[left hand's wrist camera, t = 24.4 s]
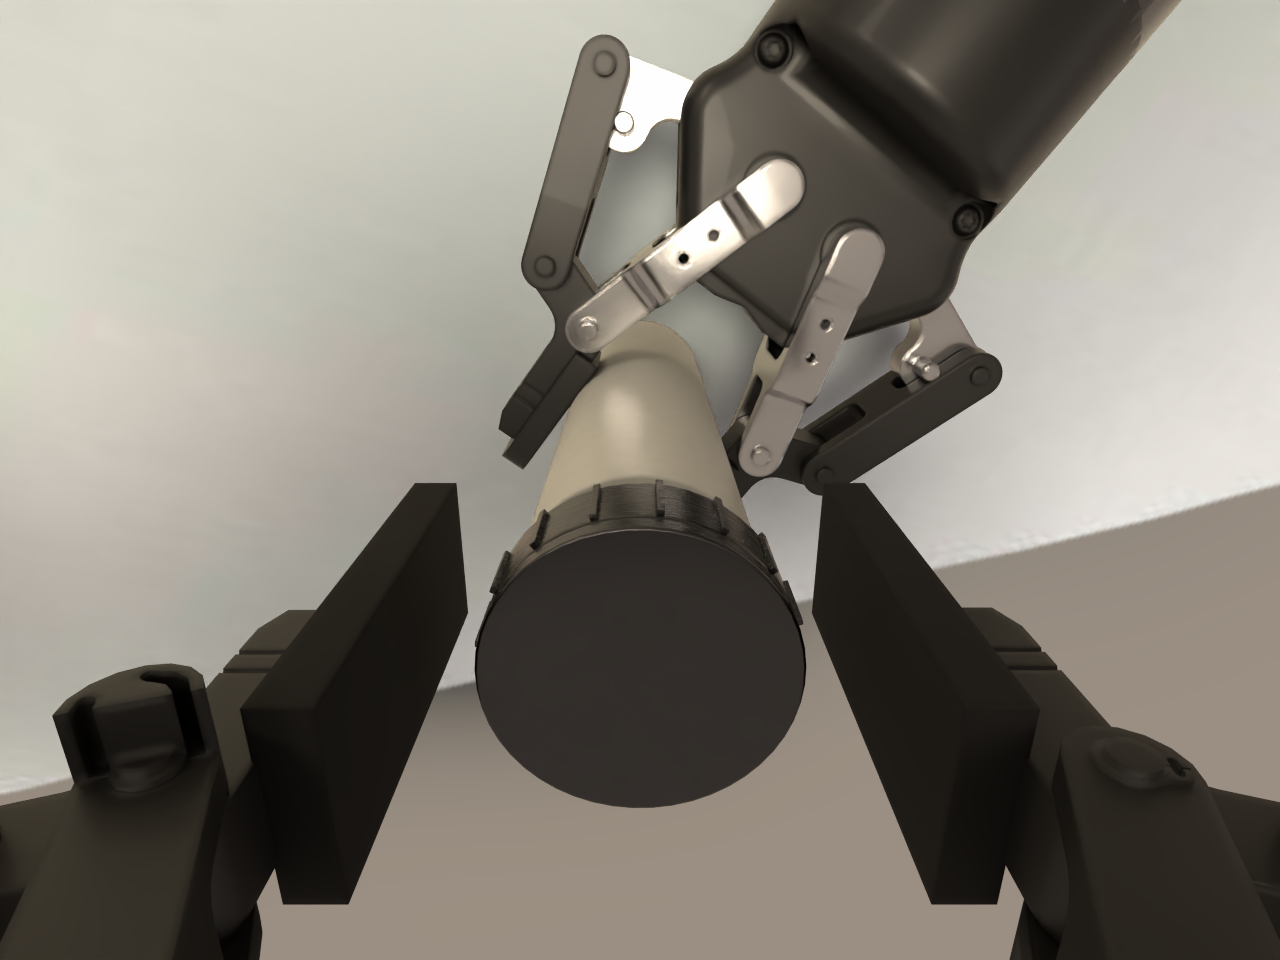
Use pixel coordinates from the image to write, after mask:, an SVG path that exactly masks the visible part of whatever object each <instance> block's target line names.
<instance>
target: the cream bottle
mask: <svg viewBox="0 0 1280 960" xmlns="http://www.w3.org/2000/svg"><path fill="white" fill-rule="evenodd" d="M600 352H601V356H600V360H599V364H598V369H597V370H596V371H595V373H594V374H593V375H592V377H591V378H590V379H589V381H588V382H587V384H586V385H585V386H584V388H583V389H582V390H581V391H580V392H579V394H578V395H577V397H576V398H575V400H574V401H573V403H572V404H571V406H570V409H569V412H568V415H567V418H566V421H565V424H564V427H563V430H562V433H561V436H560V439H559V442H558V445H557V448H556V451H555V454H554V457H553V460H552V463H551V466H550V469H549V472H548V475H547V478H546V481H545V484H544V487H543V491H542V494H541V497H540V500H539V503H538V506H537V509H536V512H535V515H534V518H533V521H532V524H531V526H532V525H533V524H534V523H535V522H536V521H537V518H538V515H539V512H541V511H542V510H543V509H545V510H546V511H547V512H549V511H551V510H552V509H553V508H555V507H557V506H558V505H560V504H562V503H564V502H566V501H567V500H569V499H571V498H574V497H576V496H579V495H581V494H584V493H586V492H589V491H592V490H593V485H595V484H600V485H601V488H604V487H607V486H614V485H621V484H635V483H650V484H655V481H656V479H658V480H663V485H668V486H673V487H677V488H681V489H685V490H689V491H692V492H694V493H697V494H700V495H702V496H705V497H708V498H709V499H711V500H713V499H714V498H715V496H717V497H718V498H720V499H722V503H723V506H725V507H726V508H727V509H729V510H730V511H732V512H733V513H734V514H736V515H737V516H739V517H740V518H741V519H742V520H743V521H744V522H745V523H746V524H747V525H749V526H750V524H749V521H748V518H747V515H746V512H745V509H744V506H743V503H742V500H741V497H740V494H739V491H738V488H737V485H736V482H735V479H734V476H733V473H732V470H731V467H730V464H729V461H728V457H727V454H726V451H725V448H724V445H723V442H722V439H721V436H720V433H719V430H718V427H717V424H716V421H715V418H714V415H713V412H712V409H711V406H710V403H709V400H708V397H707V394H706V391H705V388H704V385H703V382H702V379H701V376H700V373H699V370H698V367H697V364H696V361H695V358H694V356H693V353H692V351H691V349H690V348H689V346H688V345H687V343H686V342H685V341H684V340H683V339H682V338H681V337H680V336H679V335H678V334H677V333H675V332H674V331H673V330H671V329H669V328H667V327H666V326H664V325H661V324H658V323H654V322H650V321H638V322H637V323H636V324H634V325H633V326H632V327H630V328H629V329H628V330H626V331H625V332H624V333H622V334H621V335H620V336H619V337H617V338H616V339H615V340H613V341H612V342H611V343H609V344H608V345H607V346H605V347H604V348H603V349H601V351H600Z"/></svg>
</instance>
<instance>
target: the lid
mask: <svg viewBox="0 0 1280 960" xmlns="http://www.w3.org/2000/svg"><path fill="white" fill-rule="evenodd" d="M490 592H491V593H493V594H494V595H493V597H492V600H491V601H490V602H489V605H488V608H487V610H486V613H485V616H484V619H483V621H482V624H481V627H480V629H479V632H478V635H477V638H476V640H475V647H476V654H475V678H476V687H477V692H478V695H479V699H480V703H481V706H482V709H483V711H484V714H485V716H486V718H487V721H488V723H489V725H490V727H491V728H492V730H493V731H494V733H495V735H496V736H497V738H498V740H499V741H500V742H501V743H502V745H503V746H504V747H505V748H506V750H507V751H508V752H509V753H510V755H512V756H513V757H514V758H515V759H516V760H517V761H518V762H519V763H520V764H521V765H522V766H523V767H524V768H525V769H527V770H528V771H530V772H531V773H532V774H534V775H535V776H536V777H538V778H539V779H541V780H542V781H544V782H546V783H548V784H549V785H551V786H553V787H554V788H556V789H559V790H561V791H563V792H565V793H568V794H570V795H572V796H575V797H578V798H581V799H585V800H588V801H591V802H595V803H600V804H605V805H610V806H618V807H628V808H654V807H663V806H672V805H676V804H681V803H685V802H690V801H694V800H697V799H700V798H703V797H705V796H708V795H711V794H713V793H716V792H718V791H720V790H722V789H724V788H726V787H728V786H730V785H732V784H733V783H735V782H737V781H738V780H740V779H742V778H743V777H745V776H746V775H748V774H749V773H750V772H751V771H753V770H754V769H755V768H756V767H758V766H759V765H760V764H761V763H762V762H763V761H764V760H765V759H766V758H767V757H768V756H769V755H770V754H771V753H772V752H773V751H774V750H775V748H776V747H777V746H778V745H779V743H780V742H781V741H782V739H783V738H784V737H785V735H786V733H787V732H788V730H789V728H790V726H791V724H792V723H793V721H794V719H795V716H796V713H797V711H798V708H799V706H800V703H801V699H802V695H803V691H804V686H805V676H806V657H805V647H804V642H803V638H802V634H801V630H800V627H799V625H802V624H803V620H802V617H801V614H800V612H799V609H798V607H797V604H796V601H795V599H794V596H793V593H792V591H791V588H790V586H789V583H788V581H782V578H781V575H780V573H779V570H778V568H777V566H776V563H775V561H774V558H773V555H772V552H771V550H770V547H769V544H768V542H767V539H766V536H765V535H764V534H763V533H762V532H761V533H760V534H759V535H757V534H756V533H755V531H754V530H753V529H752V528H751V527H750V526H749V525H747V524H746V523H745V522H744V521H743V520H742V519H741V518H740V517H739V516H737V515H736V514H734V513H733V512H732V511H730V510H729V509H727V508H726V507H725V506H723V503H722V499H720V498H718V497H717V496H715V498H714V499H713V500H711V499H709V498H708V497H705V496H702V495H700V494H697V493H694V492H692V491H689V490H685V489H681V488H677V487H673V486H668V485H663V480H658V479H656V481H655V484H650V483H635V484H621V485H614V486H607V487H604V488H601V485H600V484H595V485H593V490H592V491H589V492H586V493H584V494H581V495H579V496H576V497H574V498H571V499H569V500H567V501H566V502H564V503H562V504H560V505H558V506H557V507H555V508H553V509H552V510H551V511H549V512H547V511H546V510H545V509H543V510H542V511H541V512H539V515H538V518H537V521H536V522H535V523H534V524H533V525H532V526H531V527H530V528H529V529H528V530H527V531H526V532H525V533H524V535H523V536H522V537H521V539H520V540H519V541H518V543H517V544H516V545H515V547H514V548H513V550H512V552H511V553H510V552H508V551H505V553H504V555H503V557H502V560H501V562H500V565H499V568H498V570H497V573H496V576H495V578H494V581H493V583H492V586H491V589H490Z"/></svg>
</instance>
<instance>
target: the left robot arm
mask: <svg viewBox="0 0 1280 960" xmlns="http://www.w3.org/2000/svg"><path fill="white" fill-rule="evenodd" d="M467 614H468V607H467V596H466V585H465V574H464V562H463V551H462V540H461V529H460V518H459V507H458V496H457V485H456V483H415V484H414V485H413V487H412V488H411V489H410V490H409V492H408V493H407V494H406V496H405V497H404V498H403V499H402V501H401V502H400V503H399V505H398V506H397V507H396V508H395V510H394V511H393V512H392V514H391V515H390V516H389V517H388V519H387V520H386V521H385V523H384V524H383V525H382V526H381V528H380V529H379V530H378V532H377V533H376V534H375V535H374V537H373V538H372V539H371V541H370V542H369V543H368V544H367V546H366V547H365V548H364V550H363V551H362V552H361V553H360V555H359V556H358V557H357V559H356V560H355V561H354V562H353V564H352V565H351V566H350V568H349V569H348V570H347V571H346V573H345V574H344V575H343V577H342V578H341V579H340V580H339V582H338V583H337V584H336V586H335V587H334V588H333V589H332V591H331V592H330V593H329V595H328V596H327V597H326V598H325V600H324V601H323V602H322V604H321V605H320V606H319V607H318V609H317V610H288V611H286V612H285V613H283V614H281V615H280V616H278V617H277V618H275V619H273V620H272V621H270V622H268V623H267V624H265V625H264V626H262V627H260V628H259V629H258V630H257V631H256V632H255V633H254V634H253V635H252V636H251V638H250V639H249V640H248V641H247V642H246V643H245V644H244V646H243V647H242V648H241V649H240V650H239V655H235V656H234V657H233V658H232V659H231V660H230V662H229V663H228V664H227V665H226V666H225V667H224V668H223V669H224V671H223V673H219V674H218V675H217V676H216V677H215V679H214V680H213V681H212V682H211V683H210V684H209V685H208V687H207V688H206V687H205V683H204V679H203V675H202V674H200V673H199V672H197V671H196V670H195V669H193V668H192V667H189V666H183V665H177V664H159V665H147V666H142V667H138V668H134V669H130V670H126V671H122V672H118V673H116V674H113V675H111V676H109V677H106V678H104V679H102V680H99V681H97V682H94V683H92V684H90V685H88V686H87V687H85V688H84V689H82V690H81V691H79V692H77V693H76V694H74V695H73V696H71V697H70V698H68V699H67V700H66V701H65V702H64V703H63V704H62V705H61V706H60V708H59V709H58V710H57V711H56V712H55V713H54V714H53V715H52V716H53V719H54V723H55V726H56V729H57V732H58V735H59V738H60V741H61V744H62V747H63V750H64V753H65V756H66V759H67V762H68V765H69V768H70V771H71V775H72V778H73V780H74V785H73V787H72V789H71V790H70V791H67V792H63V793H58V794H54V795H49V796H44V797H40V798H35V799H30V800H26V801H21V802H16V803H11V804H7V805H2V806H0V960H259V958H260V949H261V941H262V926H261V920H260V914H259V910H258V906H257V900H258V898H259V896H260V894H261V892H262V890H263V889H264V887H265V885H266V883H267V881H268V880H269V878H270V876H271V874H272V872H273V870H274V868H275V871H276V875H277V880H278V884H279V889H280V893H281V898H282V902H283V904H349V902H350V899H351V897H352V894H353V892H354V890H355V887H356V885H357V882H358V880H359V877H360V875H361V873H362V870H363V868H364V865H365V863H366V860H367V858H368V855H369V853H370V851H371V848H372V846H373V843H374V841H375V838H376V836H377V834H378V831H379V829H380V826H381V824H382V821H383V819H384V817H385V814H386V812H387V809H388V807H389V804H390V802H391V799H392V797H393V795H394V792H395V790H396V787H397V785H398V782H399V780H400V778H401V775H402V773H403V770H404V768H405V765H406V763H407V760H408V758H409V756H410V753H411V751H412V748H413V746H414V743H415V741H416V739H417V736H418V734H419V731H420V729H421V726H422V724H423V721H424V719H425V717H426V714H427V712H428V709H429V707H430V704H431V702H432V700H433V697H434V695H435V692H436V690H437V687H438V685H439V683H440V680H441V678H442V675H443V673H444V670H445V668H446V665H447V663H448V661H449V658H450V656H451V653H452V651H453V648H454V646H455V644H456V641H457V639H458V636H459V634H460V631H461V629H462V626H463V624H464V622H465V619H466V617H467ZM812 614H813V617H814V619H815V622H816V624H817V626H818V629H819V631H820V634H821V636H822V639H823V641H824V643H825V646H826V648H827V651H828V653H829V656H830V658H831V661H832V663H833V665H834V668H835V670H836V673H837V675H838V678H839V680H840V682H841V685H842V687H843V690H844V692H845V695H846V697H847V700H848V702H849V704H850V707H851V709H852V712H853V714H854V717H855V719H856V721H857V724H858V726H859V729H860V731H861V734H862V736H863V739H864V741H865V743H866V746H867V748H868V751H869V753H870V756H871V758H872V760H873V763H874V765H875V768H876V770H877V773H878V775H879V778H880V780H881V782H882V785H883V787H884V790H885V792H886V795H887V797H888V799H889V802H890V804H891V807H892V809H893V812H894V814H895V816H896V819H897V821H898V824H899V826H900V829H901V831H902V833H903V836H904V838H905V841H906V843H907V846H908V848H909V851H910V853H911V855H912V858H913V860H914V863H915V865H916V868H917V870H918V872H919V875H920V877H921V880H922V882H923V885H924V887H925V890H926V892H927V894H928V897H929V899H930V902H931V904H997V902H998V898H999V893H1000V889H1001V884H1002V880H1003V875H1004V871H1005V866H1007V868H1008V870H1009V872H1010V874H1011V876H1012V877H1013V879H1014V881H1015V883H1016V885H1017V887H1018V888H1019V890H1020V892H1021V894H1022V896H1023V898H1024V902H1023V906H1022V910H1021V914H1020V918H1019V923H1018V927H1017V931H1016V935H1015V939H1014V944H1013V948H1012V952H1011V956H1010V960H1280V802H1276V801H1271V800H1266V799H1261V798H1257V797H1252V796H1247V795H1242V794H1237V793H1233V792H1228V791H1223V790H1219V789H1215V788H1212V787H1208V785H1207V783H1206V781H1205V780H1204V779H1203V778H1202V776H1201V775H1200V774H1199V772H1198V771H1197V770H1196V768H1195V767H1194V766H1193V764H1191V763H1190V762H1189V761H1187V760H1186V759H1185V758H1183V757H1182V756H1181V755H1179V754H1178V753H1177V752H1175V751H1174V750H1173V749H1171V748H1170V747H1168V746H1165V745H1163V744H1161V743H1159V742H1157V741H1155V740H1153V739H1151V738H1149V737H1147V736H1145V735H1142V734H1138V733H1135V732H1131V731H1128V730H1124V729H1121V728H1117V727H1111V726H1110V725H1109V724H1108V723H1107V722H1106V720H1105V719H1104V718H1103V717H1102V716H1101V715H1100V714H1099V712H1098V711H1097V710H1096V709H1095V708H1094V707H1093V706H1092V705H1091V703H1090V702H1089V701H1088V700H1087V699H1086V698H1085V697H1084V696H1083V694H1082V693H1081V692H1080V691H1079V690H1078V689H1077V688H1076V687H1075V685H1074V684H1073V683H1072V682H1071V681H1070V680H1069V679H1068V677H1067V676H1066V675H1065V674H1064V673H1063V672H1062V671H1061V670H1057V665H1056V664H1055V663H1054V662H1053V660H1052V659H1051V658H1050V657H1049V656H1048V655H1047V654H1046V653H1045V652H1042V651H1041V647H1040V646H1039V645H1038V644H1037V642H1036V641H1035V640H1034V639H1033V638H1032V637H1031V636H1030V634H1029V633H1028V632H1027V631H1026V630H1025V629H1024V628H1023V627H1022V626H1021V625H1019V624H1018V623H1016V622H1015V621H1013V620H1011V619H1010V618H1008V617H1006V616H1005V615H1003V614H1001V613H1000V612H998V611H996V610H995V609H993V608H962V607H961V606H960V605H959V604H958V602H957V601H956V600H955V598H954V597H953V596H952V595H951V593H950V592H949V591H948V589H947V588H946V587H945V586H944V584H943V583H942V582H941V580H940V579H939V578H938V577H937V575H936V574H935V573H934V571H933V570H932V569H931V568H930V566H929V565H928V564H927V562H926V561H925V560H924V559H923V557H922V556H921V555H920V553H919V552H918V551H917V550H916V548H915V547H914V546H913V544H912V543H911V542H910V541H909V539H908V538H907V537H906V535H905V534H904V533H903V532H902V530H901V529H900V528H899V526H898V525H897V524H896V523H895V521H894V520H893V519H892V517H891V516H890V515H889V514H888V512H887V511H886V510H885V508H884V507H883V506H882V505H881V503H880V502H879V501H878V499H877V498H876V497H875V496H874V494H873V493H872V492H871V490H870V489H869V488H868V487H867V485H866V484H865V483H824V485H823V496H822V507H821V518H820V529H819V540H818V551H817V563H816V574H815V585H814V596H813V607H812Z"/></svg>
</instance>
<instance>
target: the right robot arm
mask: <svg viewBox="0 0 1280 960" xmlns="http://www.w3.org/2000/svg"><path fill="white" fill-rule="evenodd" d="M1180 2H1181V0H776V1H775V2H774V3H773V5H772V6H771V8H770V9H769V11H768V12H767V14H766V15H765V16H764V18H763V19H762V21H761V22H760V24H759V25H758V27H757V28H756V29H755V31H754V32H753V34H752V35H751V37H750V38H749V39H748V41H747V42H746V44H745V45H744V47H742V48H741V49H740V50H739V51H738V52H737V53H736V54H735V55H733V56H732V57H730V58H729V59H727V60H726V61H724V62H722V63H720V64H718V65H716V66H714V67H712V68H710V69H708V70H706V71H705V72H703V73H702V74H701V75H700V76H699V77H698V78H697V79H696V80H695V81H692V80H689V79H686V78H684V77H681V76H679V75H676V74H674V73H671V72H669V71H666V70H664V69H661V68H658V67H656V66H653V65H651V64H648V63H646V62H643V61H641V60H638V59H636V58H633V57H631V56H629V53H628V50H627V49H626V47H625V46H624V44H623V43H622V42H621V41H620V40H619V39H617V38H615V37H613V36H610V35H598V36H595V37H593V38H591V39H590V40H589V41H588V42H586V44H585V45H584V46H583V48H582V50H581V52H580V55H579V59H578V62H577V66H576V69H575V73H574V76H573V80H572V84H571V87H570V91H569V94H568V98H567V101H566V105H565V108H564V112H563V115H562V119H561V122H560V126H559V130H558V133H557V137H556V140H555V144H554V147H553V151H552V154H551V158H550V161H549V165H548V169H547V172H546V176H545V179H544V183H543V186H542V190H541V193H540V197H539V200H538V204H537V207H536V211H535V215H534V218H533V222H532V225H531V229H530V232H529V236H528V239H527V243H526V246H525V250H524V253H523V257H522V262H521V268H522V273H523V276H524V277H525V279H526V281H527V282H528V283H529V284H530V285H531V286H533V287H534V288H536V289H537V291H538V292H539V294H540V295H541V296H542V298H543V299H544V301H545V302H546V304H547V305H548V307H549V308H550V310H551V311H552V314H553V316H554V320H555V332H554V336H553V338H552V340H551V341H550V342H549V344H548V345H547V347H546V348H545V350H544V351H543V352H542V354H541V355H540V357H539V358H538V360H537V361H536V362H535V364H534V365H533V367H532V368H531V369H530V371H529V372H528V374H527V375H526V377H525V378H524V379H523V381H522V382H521V384H520V385H519V387H518V388H517V389H516V391H515V392H514V394H513V395H512V397H511V398H510V400H509V401H508V403H507V404H506V406H505V407H504V409H503V411H502V415H501V420H500V425H499V430H501V431H502V432H504V433H505V434H507V435H508V436H510V437H511V440H510V441H509V443H508V445H507V447H506V449H505V451H504V453H503V455H502V456H503V457H505V458H506V459H508V460H509V461H511V462H512V463H514V464H515V465H517V466H518V467H520V468H521V469H524V468H525V466H526V465H527V464H528V463H529V461H530V460H531V459H532V457H533V456H534V454H535V453H536V452H537V450H538V449H539V448H540V446H541V445H542V444H543V442H544V441H545V439H546V438H547V437H548V435H549V434H550V433H551V431H552V430H553V429H554V427H555V426H556V424H557V423H558V422H559V420H560V419H561V418H562V416H563V415H564V414H565V412H566V411H567V409H568V408H569V407H570V405H571V404H572V403H573V401H574V400H575V398H576V397H577V395H578V394H579V392H580V391H581V390H582V389H583V388H584V386H585V385H586V384H587V382H588V381H589V379H590V378H591V377H592V375H593V374H594V373H595V371H596V370H597V369H598V364H599V360H600V356H601V352H600V351H601V349H603V348H604V347H605V346H607V345H608V344H609V343H611V342H612V341H613V340H615V339H616V338H617V337H619V336H620V335H621V334H622V333H624V332H625V331H626V330H628V329H629V328H630V327H632V326H633V325H634V324H636V323H637V322H638V321H640V320H641V319H642V318H643V317H645V316H646V315H647V314H649V313H650V312H651V311H653V310H654V309H656V308H659V307H661V306H662V305H664V304H665V303H667V302H668V301H670V300H671V299H672V298H674V297H675V296H676V295H678V294H679V293H680V292H682V291H683V290H684V289H686V288H687V287H688V286H690V285H691V284H692V283H694V282H695V281H697V282H699V283H700V284H701V285H703V286H704V287H705V288H706V289H708V290H709V291H710V292H712V293H713V294H714V295H716V296H718V297H721V298H723V299H726V300H728V301H731V302H733V303H736V304H738V305H740V306H742V308H743V309H744V310H745V312H746V313H747V314H748V316H749V317H750V318H751V320H752V321H753V322H754V323H755V324H756V325H757V327H758V328H759V329H760V330H761V331H762V332H763V333H764V334H765V335H764V338H763V340H762V342H761V345H760V347H759V349H758V352H757V354H756V357H755V360H754V364H753V371H752V374H751V377H750V380H749V382H748V384H747V387H746V389H745V391H744V394H743V396H742V398H741V401H740V403H739V406H738V408H737V410H736V413H735V415H734V417H733V420H732V422H731V424H730V428H729V430H728V431H727V432H726V433H725V434H724V436H723V437H722V438H721V439H722V442H723V445H724V448H725V451H726V454H727V457H728V461H729V464H730V467H731V470H732V473H733V476H734V479H735V482H736V485H737V488H738V491H739V494H740V497H741V498H742V497H743V496H744V495H745V494H746V492H747V491H748V490H749V489H750V488H751V487H752V486H753V485H754V484H755V483H756V482H758V481H760V480H762V479H765V478H770V477H778V478H782V479H786V480H789V481H793V482H796V483H800V484H803V485H805V487H806V488H807V489H808V490H809V491H810V492H812V493H813V494H816V495H821V496H822V495H823V485H824V483H850V482H852V481H853V480H855V479H856V478H858V477H860V476H861V475H863V474H864V473H866V472H867V471H869V470H871V469H872V468H874V467H875V466H877V465H878V464H880V463H882V462H883V461H885V460H886V459H888V458H889V457H891V456H893V455H894V454H896V453H897V452H899V451H901V450H902V449H904V448H905V447H907V446H908V445H910V444H912V443H913V442H915V441H916V440H918V439H919V438H921V437H923V436H924V435H926V434H927V433H929V432H930V431H932V430H934V429H935V428H937V427H938V426H940V425H941V424H943V423H945V422H946V421H948V420H949V419H951V418H952V417H954V416H956V415H957V414H959V413H960V412H962V411H963V410H965V409H967V408H968V407H970V406H971V405H973V404H974V403H976V402H978V401H979V400H981V399H982V398H984V397H985V396H987V395H989V394H990V393H992V392H993V391H994V390H995V389H996V388H997V386H998V385H999V383H1000V381H1001V378H1002V366H1001V364H1000V362H999V361H998V359H997V358H995V357H994V356H992V355H990V354H988V353H986V352H985V351H984V350H982V349H980V348H978V347H977V346H976V345H975V343H974V341H973V340H972V338H971V336H970V334H969V333H968V331H967V329H966V327H965V326H964V324H963V322H962V320H961V319H960V317H959V315H958V313H957V312H956V310H955V308H954V307H953V305H952V303H951V301H950V300H949V297H950V295H951V294H952V292H953V290H954V288H955V286H956V284H957V280H958V277H959V273H960V269H961V265H962V262H963V260H964V257H965V255H966V253H967V251H968V249H969V247H970V245H971V244H972V242H973V241H974V239H975V238H976V237H977V235H978V234H979V233H980V232H981V231H982V230H983V229H984V228H985V227H986V226H987V225H988V224H989V223H990V222H991V221H992V220H993V219H994V218H995V217H996V216H997V215H998V214H999V213H1000V212H1001V211H1002V209H1003V208H1004V207H1005V206H1006V205H1007V204H1008V202H1009V201H1010V200H1011V199H1012V198H1013V197H1014V195H1015V194H1016V193H1017V192H1018V191H1019V190H1020V188H1021V187H1022V186H1023V185H1024V184H1025V183H1026V181H1027V180H1028V179H1029V178H1030V177H1031V176H1032V174H1033V173H1034V172H1035V171H1036V170H1037V169H1038V167H1039V166H1040V165H1041V164H1042V163H1043V162H1044V160H1045V159H1046V158H1047V157H1048V156H1049V155H1050V153H1051V152H1052V151H1053V150H1054V149H1055V148H1056V146H1057V145H1058V144H1059V143H1060V142H1061V141H1062V139H1063V138H1064V137H1065V136H1066V135H1067V134H1068V132H1069V131H1070V130H1071V129H1072V128H1073V127H1074V125H1075V124H1076V123H1077V122H1078V121H1079V120H1080V118H1081V117H1082V116H1083V115H1084V114H1085V113H1086V111H1087V110H1088V109H1089V108H1090V107H1091V106H1092V104H1093V103H1094V102H1095V101H1096V99H1097V98H1098V97H1099V96H1100V95H1101V94H1102V92H1103V91H1104V90H1105V89H1106V88H1107V87H1108V85H1109V84H1110V83H1111V82H1112V81H1113V80H1114V78H1115V77H1116V76H1117V75H1118V74H1119V73H1120V72H1121V71H1122V69H1123V68H1124V67H1125V66H1126V65H1127V64H1128V62H1129V61H1130V60H1131V59H1132V58H1133V57H1134V55H1135V54H1136V53H1137V52H1138V51H1139V50H1140V48H1141V47H1142V46H1143V45H1144V44H1145V42H1146V41H1147V40H1148V39H1149V38H1150V37H1151V35H1152V34H1153V33H1154V32H1155V31H1156V30H1157V28H1158V27H1159V26H1160V25H1161V24H1162V23H1163V21H1164V20H1165V19H1166V18H1167V17H1168V16H1169V14H1170V13H1171V12H1172V11H1173V10H1174V9H1175V7H1176V6H1177V5H1178V4H1179V3H1180ZM668 121H670V122H676V123H678V160H677V198H676V223H675V224H674V225H673V226H671V227H670V228H669V229H668V230H666V231H665V232H664V233H663V234H661V235H660V236H659V237H657V238H656V239H655V240H654V241H652V242H651V243H650V244H649V245H647V246H646V247H645V248H643V249H642V250H641V251H640V252H638V253H637V254H636V255H635V256H634V257H633V258H631V259H630V260H629V261H628V262H627V263H626V264H625V265H623V266H622V267H621V268H620V269H618V270H617V271H616V272H615V273H613V274H612V275H611V276H609V277H608V278H607V279H606V280H604V281H603V282H602V283H601V284H599V285H598V286H596V284H595V283H594V281H593V280H592V278H591V277H590V275H589V274H588V272H587V271H586V269H585V268H584V266H583V265H582V263H581V262H580V260H579V259H578V257H579V253H580V250H581V247H582V244H583V240H584V237H585V234H586V231H587V227H588V224H589V221H590V218H591V214H592V211H593V208H594V205H595V201H596V198H597V195H598V192H599V188H600V185H601V182H602V179H603V175H604V172H605V169H606V166H607V162H608V159H609V156H610V153H611V150H613V151H616V152H619V153H631V152H634V151H636V150H637V149H639V148H640V147H641V146H642V145H643V143H644V142H645V140H646V138H647V136H648V134H649V132H650V131H651V130H652V129H653V128H654V127H655V126H656V125H658V124H660V123H663V122H668ZM909 320H910V328H909V332H908V334H907V336H906V338H905V339H904V340H903V341H902V342H901V343H900V344H899V345H898V346H897V347H896V348H895V349H894V351H893V352H892V355H891V358H890V367H891V371H889V372H888V373H886V374H885V375H883V376H882V377H880V378H879V379H877V380H876V381H874V382H873V383H871V384H870V385H868V386H867V387H865V388H864V389H862V390H861V391H859V392H858V393H856V394H855V395H853V396H851V397H850V398H848V399H847V400H845V401H844V402H842V403H841V404H839V405H838V406H836V407H835V408H833V409H832V410H830V411H829V412H827V413H826V414H824V415H823V416H821V417H820V418H818V419H817V420H815V421H814V422H812V423H811V424H809V425H808V426H806V427H805V428H803V429H798V428H797V427H798V424H799V422H800V420H801V418H802V416H803V414H804V412H805V410H806V409H807V407H809V406H811V405H812V404H813V403H814V401H815V400H816V398H817V396H818V394H819V392H820V390H821V388H822V386H823V384H824V381H825V379H826V377H827V375H828V373H829V371H830V368H831V366H832V364H833V362H834V360H835V358H836V355H837V353H838V351H839V349H840V347H841V344H842V342H843V341H844V340H847V339H850V338H854V337H857V336H860V335H863V334H867V333H870V332H873V331H877V330H880V329H883V328H886V327H890V326H893V325H896V324H899V323H903V322H906V321H909ZM808 353H811V356H810V357H809V358H805V357H806V355H807V354H808Z"/></svg>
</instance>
